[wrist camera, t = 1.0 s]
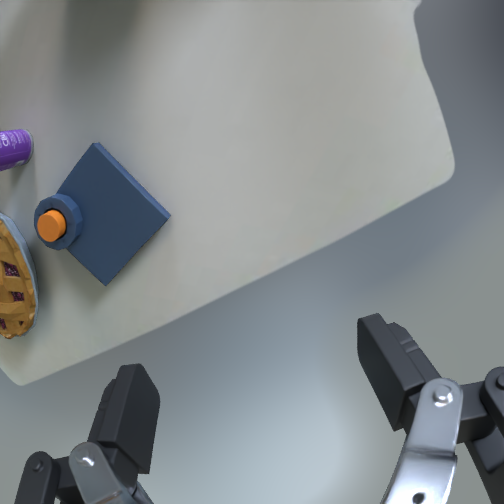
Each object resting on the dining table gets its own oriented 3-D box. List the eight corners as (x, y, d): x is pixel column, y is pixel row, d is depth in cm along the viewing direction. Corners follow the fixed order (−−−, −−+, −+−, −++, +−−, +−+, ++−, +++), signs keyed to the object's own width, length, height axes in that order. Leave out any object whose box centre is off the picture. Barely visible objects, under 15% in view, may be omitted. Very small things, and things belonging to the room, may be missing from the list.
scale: (41, 216, 31) (26, 224, 28) (95, 139, 28) (82, 140, 25) (107, 282, 35) (98, 296, 32) (171, 214, 32) (164, 224, 29)
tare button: (40, 223, 28) (33, 228, 27) (53, 203, 28) (45, 207, 26) (58, 242, 29) (50, 247, 28) (71, 223, 29) (63, 228, 27)
